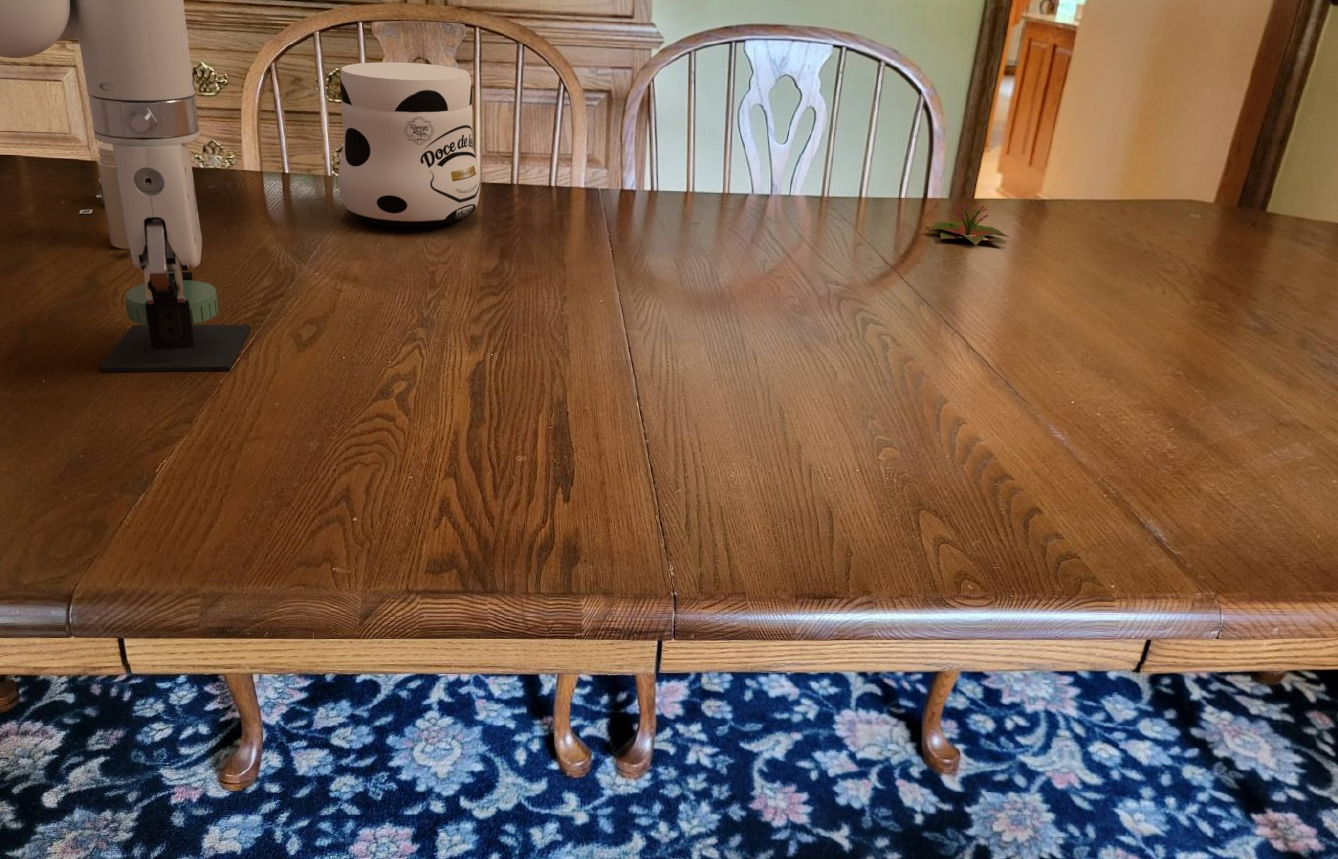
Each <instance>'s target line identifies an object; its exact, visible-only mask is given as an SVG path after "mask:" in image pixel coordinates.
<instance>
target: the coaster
mask: <svg viewBox="0 0 1338 859" xmlns="http://www.w3.org/2000/svg"><path fill="white" fill-rule="evenodd" d="M192 328H193V335H194V346H193V347H191V348H182V349H165V350H155V349H153V348H152V345H151V339H150V332H149V326H146V325H141V324H132V325H131V326H130V327H129V329H127V331H126V332H125V334H124V336H123V337H122V338H121V339H120V340H119V341H118V343H117V344H116V345H115V347H114V348H113V350H112V351H111V352H110V353H109V354H108V356H106V359H104V361H103V362H102V363H101V365H100V366H99V373H124V372H125V373H126V372H129V373H133V372H137V373H138V372H139V373H141V372H230V371H231V370H232V368H233V365H234V363H235V361H236V359H237V357H238V355H239V354H240V351H241V349H242V347H243V345H244V343H245V341H246V339H247V337H248V335H249V333H250V330H251V324H192Z"/></svg>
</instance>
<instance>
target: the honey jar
mask: <svg viewBox="0 0 1338 859" xmlns="http://www.w3.org/2000/svg"><path fill="white" fill-rule="evenodd" d="M97 153H98V155H99V157H100V158H99V159H97V161H96V165H97V170H98V171H97V172H98V177H99V178H100V183H101V189H102V195H103V201H104V204H103V206H104V213H105V218H106V224H107V231H108V236H109V243H110V245H111V246H112V247H115V248H118V249H123V250H130V247H129V242H128V238H127V232H126V227H125V222H124V216H123V210H122V204H121V198H120V192H119V185H118V179H117V172H116V165H115V158H114V151H113V144H109V143H104V142H102V143H100V144H98V152H97Z"/></svg>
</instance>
